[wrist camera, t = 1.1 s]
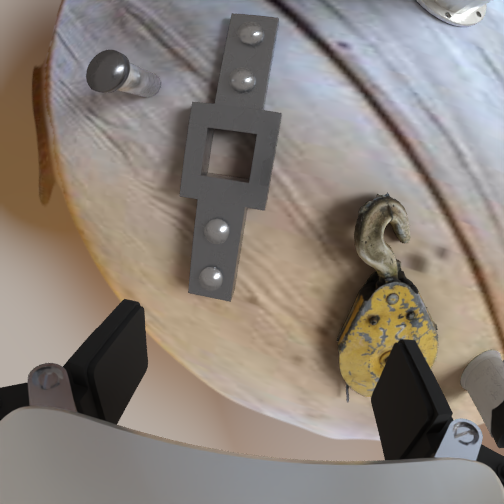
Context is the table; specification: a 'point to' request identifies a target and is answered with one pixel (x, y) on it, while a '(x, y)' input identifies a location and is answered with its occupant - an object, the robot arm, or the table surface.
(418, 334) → the pulley block
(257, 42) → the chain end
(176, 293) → the table surface
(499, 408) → the grey black mug
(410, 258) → the table surface
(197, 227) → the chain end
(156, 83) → the steel pin
